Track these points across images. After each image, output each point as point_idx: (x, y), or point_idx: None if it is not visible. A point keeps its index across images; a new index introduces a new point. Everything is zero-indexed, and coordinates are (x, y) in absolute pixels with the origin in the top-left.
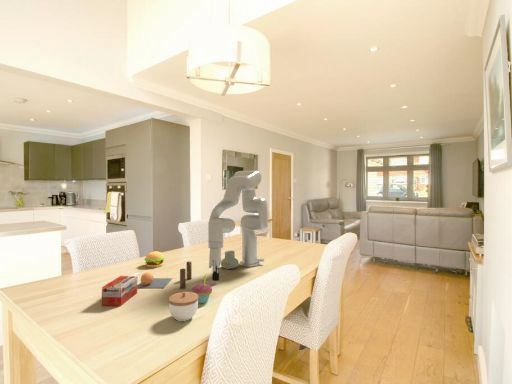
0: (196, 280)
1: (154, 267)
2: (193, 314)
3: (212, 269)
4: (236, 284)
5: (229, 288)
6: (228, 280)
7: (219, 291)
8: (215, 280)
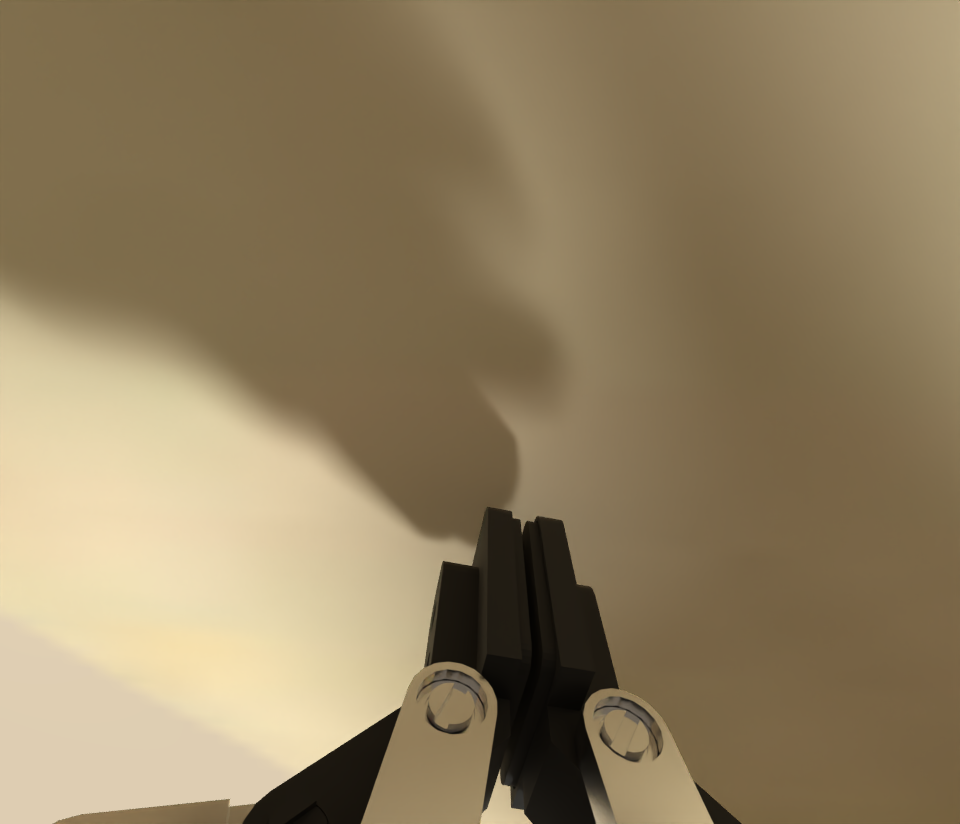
0: (871, 75)
1: None
2: None
3: (367, 816)
4: None
5: (206, 697)
6: None
7: (56, 555)
8: (474, 566)
